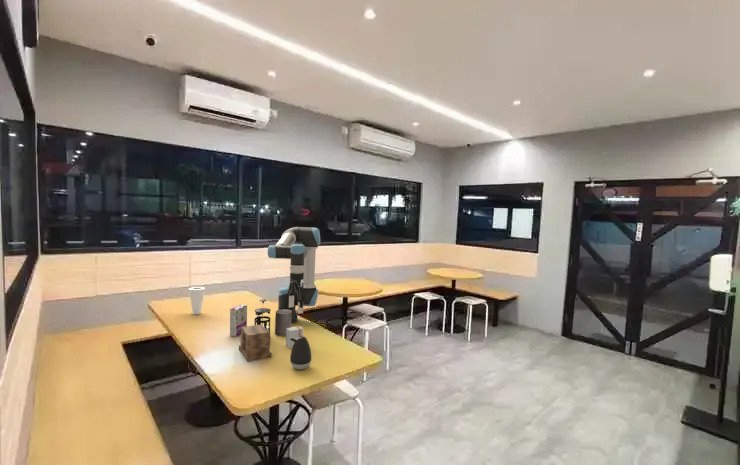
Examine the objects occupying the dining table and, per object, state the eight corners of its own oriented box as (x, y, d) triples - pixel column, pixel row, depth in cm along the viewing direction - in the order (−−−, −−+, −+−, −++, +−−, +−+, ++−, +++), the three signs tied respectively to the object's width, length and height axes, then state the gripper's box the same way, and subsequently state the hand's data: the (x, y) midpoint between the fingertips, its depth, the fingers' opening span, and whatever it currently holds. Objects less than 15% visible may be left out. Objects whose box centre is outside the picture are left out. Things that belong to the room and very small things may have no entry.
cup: (208, 313, 251) (208, 288, 250) (193, 316, 242) (194, 290, 241) (199, 310, 257) (199, 286, 256) (185, 313, 248) (185, 288, 247)
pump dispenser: (290, 362, 175) (291, 332, 175) (312, 363, 176) (313, 333, 175) (287, 372, 165) (289, 340, 164) (310, 372, 166) (311, 340, 165)
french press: (273, 339, 206) (274, 300, 204) (257, 342, 200) (258, 302, 198) (265, 333, 215) (266, 296, 213) (249, 336, 209) (251, 298, 207)
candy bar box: (239, 330, 219) (240, 304, 218) (247, 331, 218) (247, 304, 217) (229, 336, 208) (229, 308, 207) (236, 337, 207) (237, 309, 206)
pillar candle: (271, 332, 217) (272, 308, 216) (285, 329, 224) (286, 306, 223) (280, 337, 211) (281, 312, 210) (294, 333, 218) (295, 309, 217)
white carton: (299, 343, 202) (299, 326, 201) (302, 346, 197) (303, 328, 197) (285, 345, 197) (286, 328, 197) (289, 348, 193) (289, 330, 192)
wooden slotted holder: (263, 345, 197) (263, 323, 196) (273, 356, 182) (274, 332, 181) (238, 349, 189) (239, 326, 189) (247, 361, 174) (248, 336, 174)
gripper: (282, 269, 204) (281, 305, 205) (299, 276, 183) (297, 316, 184) (295, 268, 208) (293, 303, 209) (312, 275, 187) (311, 315, 188)
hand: (295, 310), depth 196 cm, fingers open, 13 cm apart
